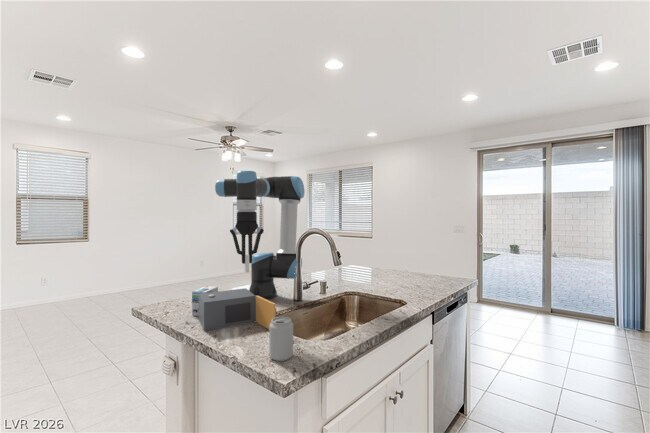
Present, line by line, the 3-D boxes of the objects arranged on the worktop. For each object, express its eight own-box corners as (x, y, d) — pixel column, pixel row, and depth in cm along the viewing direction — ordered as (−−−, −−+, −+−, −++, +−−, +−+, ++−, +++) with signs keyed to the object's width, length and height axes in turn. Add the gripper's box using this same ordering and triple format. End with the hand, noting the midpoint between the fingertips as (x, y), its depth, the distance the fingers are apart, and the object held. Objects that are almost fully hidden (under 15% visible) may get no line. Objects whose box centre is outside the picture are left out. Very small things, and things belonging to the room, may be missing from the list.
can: (264, 360, 98) (264, 321, 97) (276, 350, 105) (276, 314, 104) (286, 364, 95) (286, 324, 95) (297, 353, 102) (297, 316, 102)
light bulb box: (205, 316, 137) (205, 292, 136) (191, 315, 138) (191, 291, 138) (218, 309, 147) (218, 286, 147) (205, 308, 148) (205, 285, 148)
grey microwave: (248, 312, 143) (248, 286, 143) (258, 321, 131) (258, 294, 131) (198, 319, 133) (198, 292, 133) (204, 331, 120) (204, 301, 120)
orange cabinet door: (254, 321, 130) (254, 295, 130) (258, 320, 132) (258, 294, 131) (272, 331, 119) (272, 304, 119) (277, 330, 120) (277, 303, 120)
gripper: (229, 211, 116) (230, 274, 117) (265, 211, 121) (265, 272, 122) (228, 211, 123) (228, 271, 124) (262, 210, 128) (262, 268, 129)
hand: (247, 271), depth 123 cm, fingers closed
